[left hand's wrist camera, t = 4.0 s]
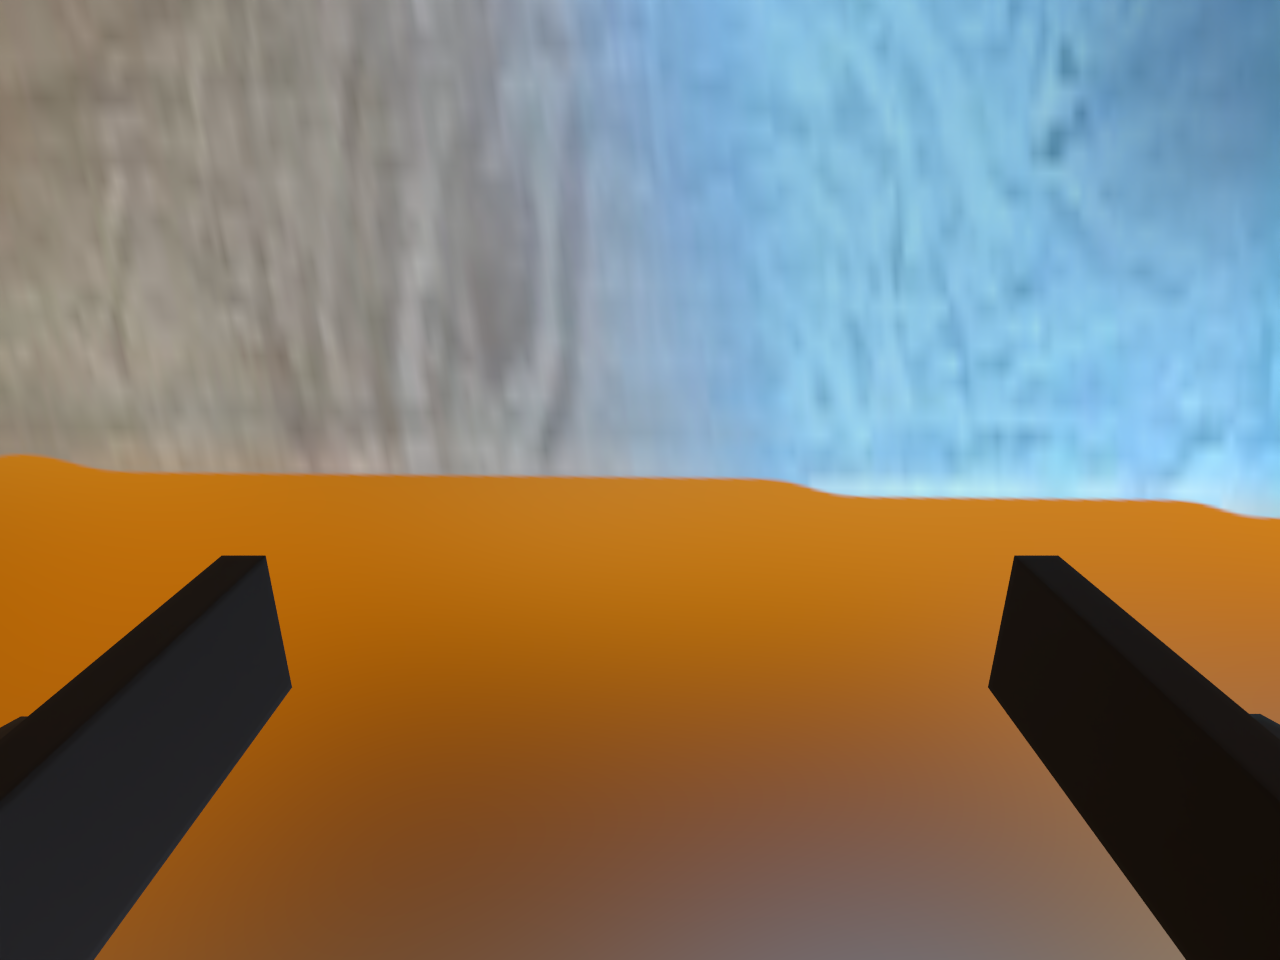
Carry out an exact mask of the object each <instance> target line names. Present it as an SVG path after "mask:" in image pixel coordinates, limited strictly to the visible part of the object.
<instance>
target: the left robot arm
mask: <svg viewBox="0 0 1280 960" xmlns="http://www.w3.org/2000/svg"><path fill="white" fill-rule="evenodd" d="M291 688H292V685H291V680H290V676H289V671H288V665H287V661H286V655H285V651H284V645H283V640H282V636H281V631H280V625H279V620H278V616H277V610H276V605H275V601H274V596H273V591H272V586H271V581H270V576H269V571H268V566H267V561H266V556H221V557H220V558H218V559H217V560H216V561H215V562H214V563H212V564H211V565H210V566H209V567H208V568H206V569H205V570H204V571H203V572H202V573H200V574H199V575H198V576H197V577H195V578H194V579H193V580H192V581H191V582H189V583H188V584H187V585H186V586H185V587H183V588H182V589H181V590H180V591H179V592H177V593H176V594H175V595H174V596H173V597H171V598H170V599H169V600H168V601H167V602H165V603H164V604H163V605H162V606H161V607H159V608H158V609H157V610H156V611H155V612H153V613H152V614H151V615H150V616H149V617H147V618H146V619H145V620H144V621H143V622H141V623H140V624H139V625H138V626H136V627H135V628H134V629H133V630H132V631H130V632H129V633H128V634H127V635H126V636H124V637H123V638H122V639H121V640H120V641H118V642H117V643H116V644H115V645H114V646H112V647H111V648H110V649H109V650H108V651H106V652H105V653H104V654H103V655H102V656H100V657H99V658H98V659H97V660H95V661H94V662H93V663H92V664H91V665H89V666H88V667H87V668H86V669H85V670H83V671H82V672H81V673H80V674H79V675H77V676H76V677H75V678H74V679H73V680H71V681H70V682H69V683H68V684H67V685H65V686H64V687H63V688H62V689H61V690H59V691H58V692H57V693H56V694H55V695H53V696H52V697H51V698H50V699H49V700H47V701H46V702H45V703H44V704H42V705H41V706H40V707H39V708H38V709H36V710H35V711H34V712H33V713H32V714H30V715H29V716H28V717H19V718H17V719H15V720H13V721H12V722H10V723H8V724H6V725H4V726H3V727H1V728H0V960H94V959H95V957H96V956H97V955H98V953H99V952H100V951H101V949H102V948H103V946H104V945H105V944H106V942H107V941H108V940H109V938H110V937H111V935H112V934H113V933H114V931H115V930H116V929H117V927H118V926H119V924H120V923H121V922H122V920H123V919H124V917H125V916H126V915H127V913H128V912H129V911H130V909H131V908H132V907H133V905H134V904H135V902H136V901H137V900H138V898H139V897H140V896H141V894H142V893H143V891H144V890H145V889H146V887H147V886H148V885H149V883H150V882H151V880H152V879H153V878H154V876H155V875H156V873H157V872H158V871H159V869H160V868H161V867H162V865H163V864H164V863H165V861H166V860H167V858H168V857H169V856H170V854H171V853H172V852H173V850H174V849H175V847H176V846H177V845H178V843H179V842H180V841H181V839H182V838H183V836H184V835H185V834H186V832H187V831H188V829H189V828H190V827H191V825H192V824H193V823H194V821H195V820H196V818H197V817H198V816H199V814H200V813H201V812H202V810H203V809H204V808H205V806H206V805H207V803H208V802H209V801H210V799H211V798H212V796H213V795H214V794H215V792H216V791H217V790H218V788H219V787H220V786H221V784H222V783H223V781H224V780H225V779H226V777H227V776H228V774H229V773H230V772H231V770H232V769H233V768H234V766H235V765H236V763H237V762H238V761H239V759H240V758H241V757H242V755H243V754H244V753H245V751H246V750H247V748H248V747H249V746H250V744H251V743H252V742H253V740H254V739H255V737H256V736H257V735H258V733H259V732H260V730H261V729H262V728H263V726H264V725H265V724H266V722H267V721H268V719H269V718H270V717H271V715H272V714H273V713H274V711H275V710H276V708H277V707H278V706H279V704H280V703H281V702H282V700H283V699H284V697H285V696H286V695H287V693H288V692H289V691H290V689H291ZM988 688H989V689H990V691H991V692H992V693H993V695H994V696H995V697H996V699H997V700H998V702H999V703H1000V704H1001V706H1002V707H1003V708H1004V710H1005V711H1006V713H1007V714H1008V715H1009V717H1010V718H1011V719H1012V721H1013V722H1014V724H1015V725H1016V726H1017V728H1018V729H1019V731H1020V732H1021V733H1022V735H1023V736H1024V737H1025V739H1026V740H1027V741H1028V743H1029V744H1030V746H1031V747H1032V748H1033V750H1034V751H1035V753H1036V754H1037V755H1038V757H1039V758H1040V759H1041V761H1042V762H1043V764H1044V765H1045V766H1046V768H1047V769H1048V770H1049V772H1050V773H1051V775H1052V776H1053V777H1054V778H1055V780H1056V781H1057V783H1058V784H1059V786H1060V787H1061V788H1062V790H1063V791H1064V792H1065V794H1066V795H1067V796H1068V798H1069V799H1070V801H1071V802H1072V803H1073V805H1074V806H1075V808H1076V809H1077V810H1078V812H1079V813H1080V814H1081V816H1082V817H1083V819H1084V820H1085V821H1086V823H1087V824H1088V825H1089V827H1090V828H1091V830H1092V831H1093V832H1094V834H1095V835H1096V836H1097V838H1098V839H1099V841H1100V842H1101V843H1102V845H1103V846H1104V847H1105V849H1106V850H1107V852H1108V853H1109V854H1110V856H1111V857H1112V858H1113V860H1114V861H1115V863H1116V864H1117V865H1118V867H1119V868H1120V869H1121V871H1122V872H1123V873H1124V875H1125V876H1126V878H1127V879H1128V880H1129V882H1130V883H1131V884H1132V886H1133V887H1134V889H1135V890H1136V891H1137V893H1138V894H1139V896H1140V897H1141V898H1142V900H1143V901H1144V902H1145V904H1146V905H1147V906H1148V908H1149V909H1150V911H1151V912H1152V913H1153V915H1154V916H1155V917H1156V919H1157V920H1158V922H1159V923H1160V924H1161V926H1162V927H1163V929H1164V930H1165V931H1166V933H1167V934H1168V935H1169V937H1170V938H1171V939H1172V941H1173V942H1174V944H1175V945H1176V946H1177V948H1178V949H1179V951H1180V952H1181V953H1182V955H1183V956H1184V957H1185V959H1186V960H1280V725H1279V724H1278V723H1276V722H1274V721H1272V720H1270V719H1268V718H1267V717H1265V716H1263V715H1261V714H1248V713H1247V712H1246V711H1245V710H1244V709H1242V708H1241V707H1240V706H1239V705H1238V704H1236V703H1235V702H1234V701H1233V700H1231V699H1230V698H1229V697H1228V696H1227V695H1225V694H1224V693H1223V692H1222V691H1221V690H1219V689H1218V688H1217V687H1216V686H1215V685H1213V684H1212V683H1211V682H1210V681H1209V680H1207V679H1206V678H1205V677H1204V676H1203V675H1201V674H1200V673H1199V672H1198V671H1197V670H1195V669H1194V668H1193V667H1192V666H1190V665H1189V664H1188V663H1187V662H1186V661H1184V660H1183V659H1182V658H1181V657H1180V656H1178V655H1177V654H1176V653H1175V652H1174V651H1172V650H1171V649H1170V648H1169V647H1168V646H1166V645H1165V644H1164V643H1163V642H1161V641H1160V640H1159V639H1158V638H1157V637H1156V636H1154V635H1153V634H1152V633H1151V632H1150V631H1148V630H1147V629H1146V628H1145V627H1144V626H1142V625H1141V624H1140V623H1139V622H1137V621H1136V620H1135V619H1134V618H1133V617H1131V616H1130V615H1129V614H1128V613H1127V612H1125V611H1124V610H1123V609H1122V608H1121V607H1119V606H1118V605H1117V604H1116V603H1115V602H1113V601H1112V600H1111V599H1110V598H1109V597H1107V596H1106V595H1105V594H1104V593H1102V592H1101V591H1100V590H1099V589H1098V588H1097V587H1095V586H1094V585H1093V584H1092V583H1090V582H1089V581H1088V580H1087V579H1086V578H1085V577H1083V576H1082V575H1081V574H1080V573H1078V572H1077V571H1076V570H1075V569H1074V568H1072V567H1071V566H1070V565H1069V564H1068V563H1066V562H1065V561H1064V560H1063V559H1062V558H1060V557H1059V556H1014V561H1013V566H1012V571H1011V576H1010V581H1009V586H1008V591H1007V596H1006V600H1005V606H1004V610H1003V616H1002V620H1001V625H1000V631H999V636H998V641H997V645H996V650H995V655H994V661H993V665H992V670H991V675H990V680H989V685H988Z"/></svg>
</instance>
